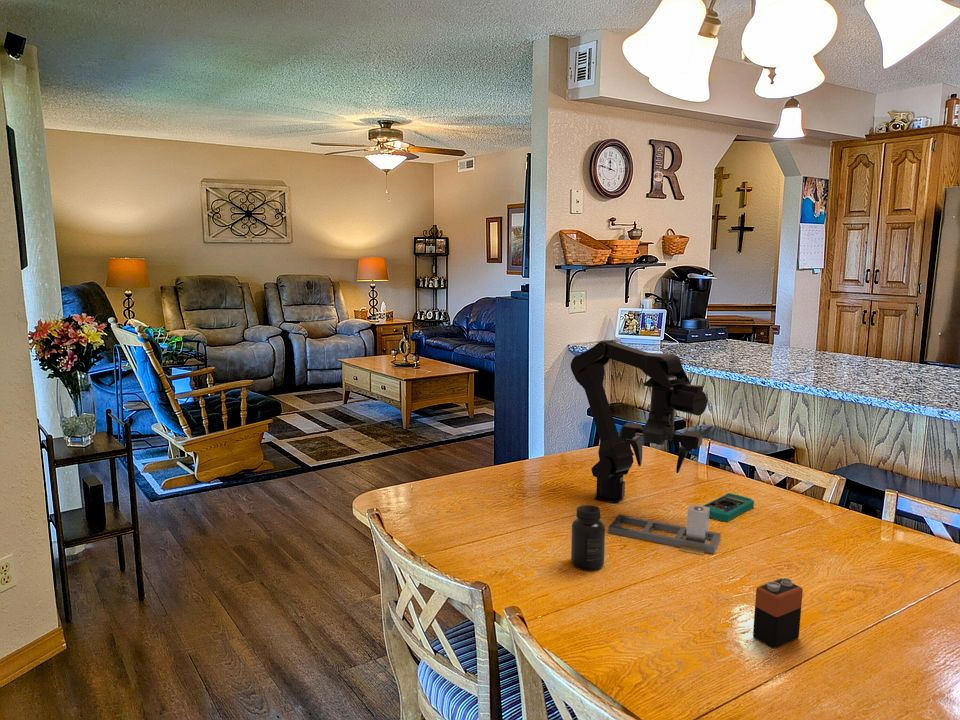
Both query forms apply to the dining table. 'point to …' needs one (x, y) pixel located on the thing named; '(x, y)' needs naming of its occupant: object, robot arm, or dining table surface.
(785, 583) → the battery
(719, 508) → the digital multimeter
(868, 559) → the dining table surface
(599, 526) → the supplement bottle
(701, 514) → the grey tall square block
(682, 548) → the rail frame
